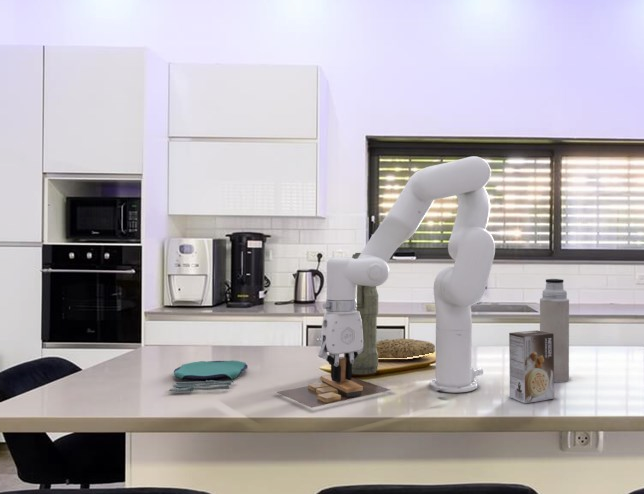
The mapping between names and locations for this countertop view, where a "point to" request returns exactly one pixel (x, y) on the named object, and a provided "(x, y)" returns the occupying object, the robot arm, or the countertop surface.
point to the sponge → (403, 348)
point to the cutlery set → (207, 374)
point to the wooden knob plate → (343, 382)
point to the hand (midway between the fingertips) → (341, 379)
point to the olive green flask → (367, 328)
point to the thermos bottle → (556, 325)
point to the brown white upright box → (531, 366)
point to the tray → (310, 399)
